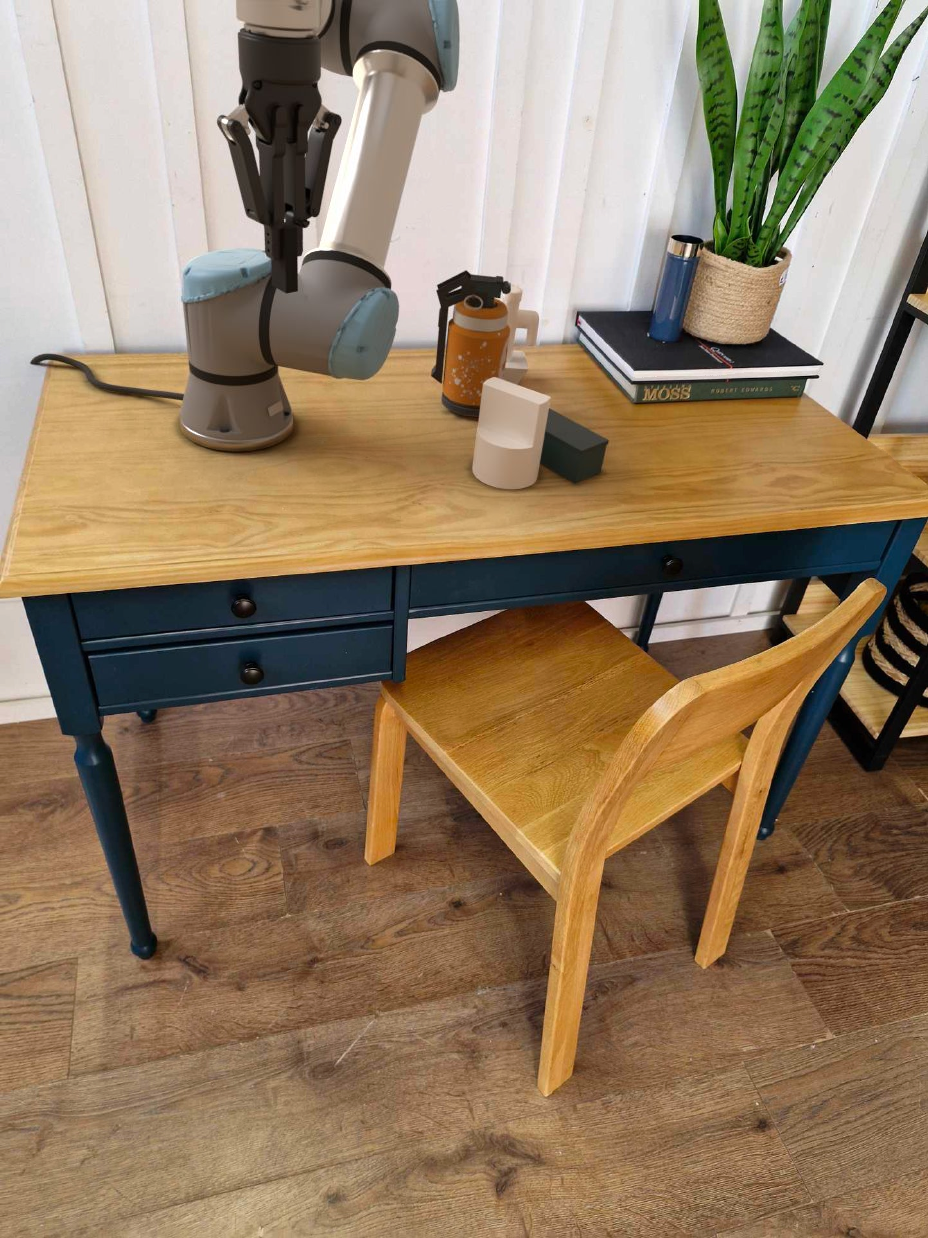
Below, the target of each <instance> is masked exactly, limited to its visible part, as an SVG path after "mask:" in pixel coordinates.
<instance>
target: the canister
mask: <svg viewBox="0 0 928 1238" xmlns="http://www.w3.org/2000/svg"><path fill="white" fill-rule="evenodd" d="M511 284H512V283H511V282H509V281H508V280H504V277H503V276H502V275H496V276H491V275H481V274H472V273H470V271H468V270H467V269H465V270H464V271H462V272H459V273H458V274H456V275H453V276H452V277H450V278H448V279H446V280H444V281H442V282H440V283H438V284H436V287H437V289H436V296H437V298H438V302H439V305H440V308H439V311H438V321H437V327H438V332H437V344H436V345H437V346H436V347H437V348H436V356H435V365H434V366H433V367H432V368H431V372H430V377H431V378H433V379H434V381H435V380H436V381H437V382H438V383H439V384H441V385H442V392H441V403H442V406H443V407H445V409H447V410H449V411H450V412H453V413H456V414H458V415H461V416H465V417H472V418H473V417H474V418H475V417H476V418H477V417H478V418H479V413H480V405H481V396H482V388H483V383H484V382H485V381H486V380H488V379H490V378H492V377H496V378H499V379H502V380H504V373H505V365H506V358H507V350H508V343H509V335H510V327H509V326H508V325H507V321H508V310H507V307H506V305H505V304H504V303H503V302H504V301H502V300H500V299H501V297H502V295H503V294H509V293H510V291H511ZM452 306H453V311H452V317H451V319H449V308H450V307H452ZM448 319H449V321H448Z"/></svg>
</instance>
